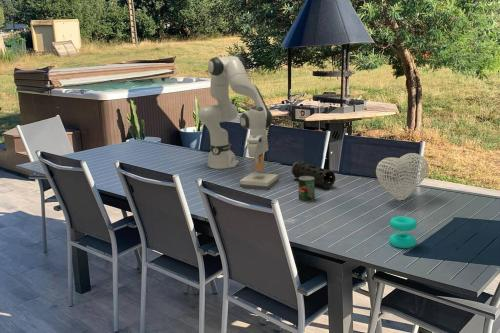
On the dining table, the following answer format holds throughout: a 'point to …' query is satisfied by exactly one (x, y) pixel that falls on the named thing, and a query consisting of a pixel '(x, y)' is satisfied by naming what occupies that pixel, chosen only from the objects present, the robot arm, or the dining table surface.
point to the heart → (379, 174)
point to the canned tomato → (306, 188)
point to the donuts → (403, 238)
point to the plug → (260, 163)
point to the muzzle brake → (314, 174)
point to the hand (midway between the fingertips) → (259, 162)
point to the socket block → (259, 181)
